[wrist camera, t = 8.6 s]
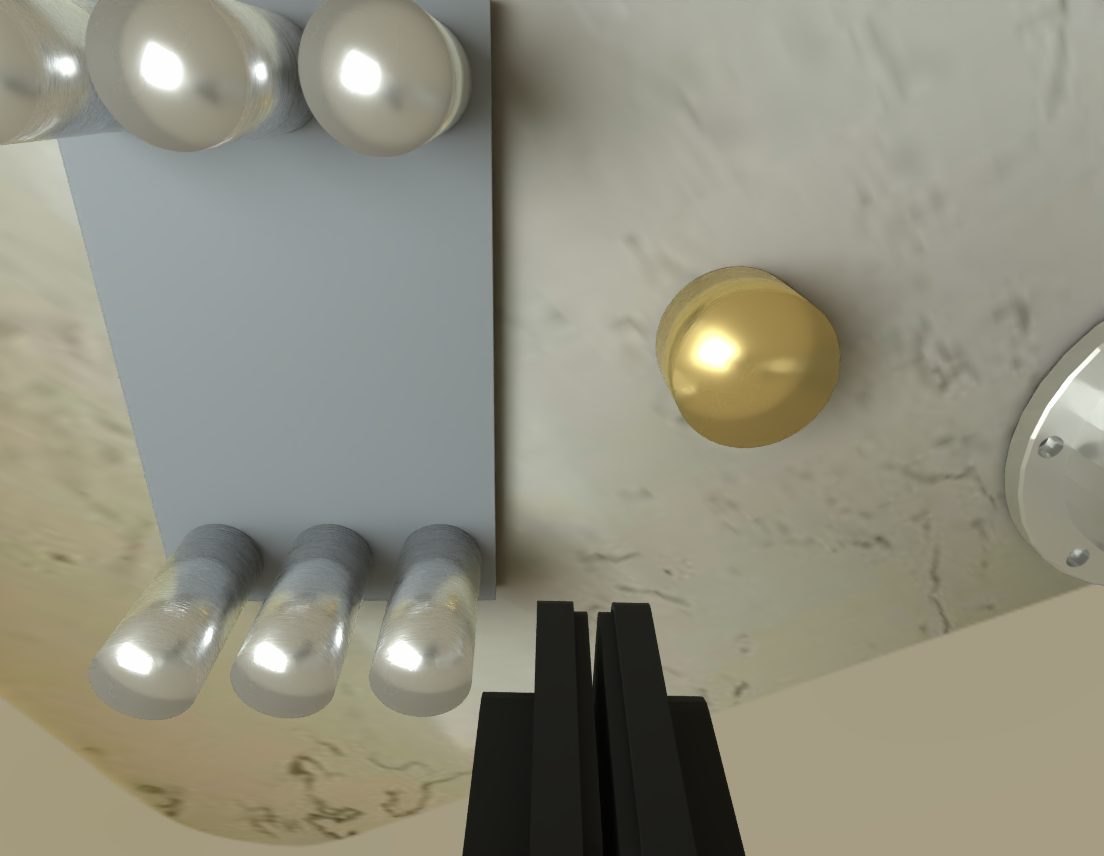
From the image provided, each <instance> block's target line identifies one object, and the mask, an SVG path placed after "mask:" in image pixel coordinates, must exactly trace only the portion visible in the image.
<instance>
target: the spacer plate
mask: <svg viewBox="0 0 1104 856" xmlns="http://www.w3.org/2000/svg"><path fill="white" fill-rule="evenodd" d="M88 1H93V2H98V1H99V0H88ZM235 1H239V2H242V3H246V4H249V5H252V6H256V7H259V8H263V9H266V10H269V11H273V12H276V13H278V14H281V15H283V16H285V17H286V18H288V19H290V20H291V21H293V22H294V23H295V24H297V25H298V26H299V27H300V28H301V29H302V30H303V31H304V29H305V27H306V25H307V23H308V21H309V19H310V18H311V16H312V15H313V13H314V12H315V10H316V9H317V8H318V7H319V6H320V5H321V4H322V3H323V2H324V1H326V0H235ZM412 1H413V2H414V3H416V4H417V5H418V6H419V7H421V8H422V9H423V10H425V11H426V12H427V13H429V14H430V15H431V16H432V17H434V18H435V19H436V20H438V21H439V22H440V23H442V24H443V25H444V26H445V27H447V28H448V29H449V30H450V31H451V32H452V33H453V34H454V35H455V36H456V37H457V39H458V40H459V41H460V43H461V44H462V46H463V48H464V49H465V52H466V54H467V56H468V59H469V62H470V66H471V71H472V91H471V96H470V100H469V103H468V105H467V108H466V110H465V112H464V113H463V115H462V117H461V118H460V119H459V120H458V122H457V123H455V124H454V125H453V126H452V127H451V128H450V129H448V130H447V131H445V132H443V133H442V134H440V135H439V136H437V137H435V138H434V139H432V140H430V141H429V142H427V143H426V144H424V145H422V146H421V147H419V148H417V149H415V150H413V151H411V152H409V153H406V154H403V155H400V156H394V157H373V156H369V155H364V154H361V153H358V152H356V151H353V150H351V149H349V148H347V147H346V146H344V145H342V144H341V143H339V142H338V141H337V140H335V139H334V138H333V137H332V136H331V135H330V134H328V133H327V132H326V130H325V129H324V128H323V127H322V126H321V125H320V124H319V122H318V121H317V119H316V118H315V117H314V116H313V118H312V119H311V120H310V121H309V122H308V123H306V124H305V125H304V126H302V127H301V128H299V129H297V130H294V131H292V132H288V133H283V134H278V135H273V136H268V137H264V138H259V139H254V140H249V141H244V142H239V143H234V144H229V145H224V146H220V147H215V148H210V149H205V150H200V151H195V152H175V151H169V150H165V149H161V148H158V147H156V146H153V145H151V144H149V143H147V142H145V141H143V140H141V139H139V138H138V137H136V136H135V135H133V134H132V133H131V132H129V131H128V130H127V131H119V132H110V133H101V134H93V135H84V136H76V137H67V138H58V139H57V141H58V145H59V148H60V152H61V156H62V160H63V164H64V168H65V171H66V175H67V179H68V183H69V187H70V191H71V194H72V198H73V202H74V206H75V210H76V214H77V217H78V221H79V225H80V229H81V233H82V237H83V240H84V244H85V248H86V252H87V256H88V260H89V263H90V267H91V271H92V275H93V279H94V283H95V286H96V290H97V294H98V298H99V302H100V306H101V309H102V313H103V317H104V321H105V325H106V329H107V332H108V336H109V340H110V344H111V348H112V352H113V355H114V359H115V363H116V367H117V371H118V375H119V378H120V382H121V386H122V390H123V394H124V398H125V401H126V405H127V409H128V413H129V417H130V421H131V424H132V428H133V432H134V436H135V440H136V444H137V447H138V451H139V455H140V459H141V463H142V467H143V470H144V474H145V478H146V482H147V486H148V490H149V493H150V497H151V501H152V505H153V509H154V513H155V516H156V520H157V524H158V528H159V532H160V536H161V539H162V543H163V547H164V551H165V555H166V559H167V560H168V558H169V557H170V556H171V554H172V553H173V551H174V550H175V549H176V547H177V546H178V545H179V543H180V542H181V541H182V539H183V538H184V537H185V536H186V534H187V533H189V532H190V531H191V530H193V529H194V528H197V527H199V526H202V525H207V524H223V525H228V526H232V527H234V528H237V529H239V530H241V531H243V532H245V533H246V534H248V535H249V536H250V537H251V538H252V539H253V540H254V541H255V542H256V543H257V544H258V546H259V547H260V549H261V551H262V553H263V557H264V569H263V572H262V574H261V576H260V578H259V580H258V582H257V584H256V585H255V587H254V589H253V591H252V593H251V595H250V597H249V599H248V601H265V599H266V597H267V595H268V593H269V591H270V589H271V587H272V585H273V583H274V581H275V579H276V577H277V575H278V573H279V571H280V569H281V567H282V565H283V563H284V561H285V559H286V557H287V555H288V553H289V551H290V549H291V547H292V545H293V543H294V541H295V539H296V538H297V536H298V535H299V534H300V533H302V532H303V531H304V530H306V529H308V528H310V527H312V526H316V525H320V524H336V525H341V526H344V527H347V528H350V529H352V530H353V531H355V532H357V533H358V534H360V535H361V536H362V537H363V538H364V539H365V540H366V541H367V543H368V544H369V546H370V548H371V550H372V553H373V557H374V563H373V568H372V571H371V575H370V578H369V581H368V584H367V588H366V591H365V594H364V597H363V600H389V596H390V592H391V588H392V584H393V580H394V576H395V572H396V569H397V565H398V561H399V557H400V553H401V549H402V546H403V544H404V542H405V540H406V539H407V538H408V537H409V536H410V534H412V533H413V532H414V531H416V530H418V529H419V528H422V527H424V526H428V525H433V524H447V525H452V526H455V527H458V528H460V529H462V530H464V531H466V532H467V533H469V534H470V535H471V536H472V537H473V538H474V539H475V540H476V542H477V543H478V545H479V547H480V550H481V555H482V562H481V574H480V586H479V599H478V600H496V523H495V416H494V308H493V200H492V92H491V0H412Z"/></svg>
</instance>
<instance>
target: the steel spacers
mask: <svg viewBox="0 0 1104 856" xmlns="http://www.w3.org/2000/svg"><path fill="white" fill-rule="evenodd" d="M471 91H472V71H471V66H470V62H469V59H468V56H467V54H466V52H465V49H464V48H463V46H462V44H461V43H460V41H459V40H458V39H457V37H456V36H455V35H454V34H453V33H452V32H451V31H450V30H449V29H448V28H447V27H445V26H444V25H443V24H442V23H440V22H439V21H438V20H436V19H435V18H434V17H432V16H431V15H430V14H429V13H427V12H426V11H425V10H423V9H422V8H421V7H419V6H418V5H417V4H416V3H414V2H413V1H412V0H326V1H324V2H323V3H322V4H321V5H320V6H319V7H318V8H317V9H316V10H315V12H314V13H313V15H312V16H311V18H310V19H309V21H308V23H307V25H306V27H305V29H304V31H303V30H302V29H301V28H300V27H299V26H298V25H297V24H295V23H294V22H293V21H291V20H290V19H288V18H286V17H285V16H283V15H281V14H278V13H276V12H273V11H269V10H266V9H263V8H259V7H256V6H252V5H249V4H246V3H242V2H239V1H235V0H99V1H98V2H93V1H88V0H0V145H7V144H15V143H24V142H33V141H41V140H50V139H58V138H67V137H76V136H84V135H93V134H101V133H110V132H119V131H127V130H128V131H129V132H131V133H132V134H133V135H135V136H136V137H138V138H139V139H141V140H143V141H145V142H147V143H149V144H151V145H153V146H156V147H158V148H161V149H165V150H169V151H175V152H195V151H200V150H205V149H210V148H215V147H220V146H224V145H229V144H234V143H239V142H244V141H249V140H254V139H259V138H264V137H268V136H273V135H278V134H283V133H288V132H292V131H294V130H297V129H299V128H301V127H302V126H304V125H305V124H306V123H308V122H309V121H310V120H311V119H312V118H313V116H314V117H315V118H316V119H317V121H318V122H319V124H320V125H321V126H322V127H323V128H324V129H325V130H326V132H327V133H328V134H330V135H331V136H332V137H333V138H334V139H335V140H337V141H338V142H339V143H341V144H342V145H344V146H346V147H347V148H349V149H351V150H353V151H356V152H358V153H361V154H364V155H369V156H373V157H394V156H400V155H403V154H406V153H409V152H411V151H413V150H415V149H417V148H419V147H421V146H422V145H424V144H426V143H427V142H429V141H430V140H432V139H434V138H435V137H437V136H439V135H440V134H442V133H443V132H445V131H447V130H448V129H450V128H451V127H452V126H453V125H454V124H455V123H457V122H458V120H459V119H460V118H461V117H462V115H463V113H464V112H465V110H466V108H467V105H468V103H469V100H470V96H471ZM481 562H482V555H481V550H480V547H479V545H478V543H477V542H476V540H475V539H474V538H473V537H472V536H471V535H470V534H469V533H467V532H466V531H464V530H462V529H460V528H458V527H455V526H452V525H447V524H433V525H428V526H424V527H422V528H419V529H418V530H416V531H414V532H413V533H412V534H410V536H409V537H408V538H407V539H406V540H405V542H404V544H403V546H402V549H401V553H400V557H399V561H398V565H397V569H396V572H395V576H394V580H393V584H392V588H391V592H390V596H389V600H388V603H387V607H386V611H385V615H384V619H383V623H382V627H381V631H380V635H379V638H378V642H377V646H376V650H375V654H374V658H373V662H372V666H371V670H370V675H369V680H370V686H371V688H372V691H373V692H374V694H375V696H376V697H377V698H378V699H379V700H380V701H381V702H382V703H383V704H384V705H386V706H387V707H389V708H390V709H392V710H394V711H397V712H399V713H402V714H405V715H410V716H418V717H427V716H435V715H439V714H443V713H446V712H448V711H450V710H452V709H454V708H455V707H457V706H458V705H459V704H461V703H462V702H463V701H464V699H465V698H466V697H467V695H468V693H469V691H470V688H471V683H472V671H473V659H474V647H475V635H476V623H477V611H478V599H479V586H480V574H481ZM373 563H374V557H373V553H372V550H371V548H370V546H369V544H368V543H367V541H366V540H365V539H364V538H363V537H362V536H361V535H360V534H358V533H357V532H355V531H353V530H352V529H350V528H347V527H344V526H341V525H336V524H320V525H316V526H312V527H310V528H308V529H306V530H304V531H303V532H302V533H300V534H299V535H298V536H297V538H296V539H295V541H294V543H293V545H292V547H291V549H290V551H289V553H288V555H287V557H286V559H285V561H284V563H283V565H282V567H281V569H280V571H279V573H278V575H277V577H276V579H275V581H274V583H273V585H272V587H271V589H270V591H269V593H268V595H267V597H266V599H265V601H264V603H263V605H262V607H261V609H260V611H259V613H258V615H257V617H256V619H255V621H254V623H253V625H252V627H251V629H250V631H249V633H248V635H247V637H246V639H245V641H244V643H243V645H242V647H241V649H240V651H239V653H238V655H237V657H236V659H235V661H234V663H233V666H232V668H231V674H230V678H231V683H232V686H233V689H234V691H235V692H236V694H237V695H238V697H239V698H240V699H241V700H242V701H243V702H244V703H246V704H247V705H248V706H250V707H251V708H253V709H255V710H256V711H258V712H261V713H263V714H266V715H269V716H273V717H279V718H300V717H305V716H309V715H311V714H314V713H316V712H318V711H320V710H321V709H323V708H324V707H325V706H326V705H327V704H328V703H329V702H330V700H331V699H332V697H333V695H334V692H335V689H336V685H337V682H338V679H339V676H340V672H341V669H342V666H343V663H344V659H345V656H346V653H347V650H348V646H349V643H350V640H351V637H352V633H353V630H354V627H355V624H356V620H357V617H358V614H359V610H360V607H361V604H362V601H363V597H364V594H365V591H366V588H367V584H368V581H369V578H370V575H371V571H372V568H373ZM263 569H264V557H263V553H262V551H261V549H260V547H259V546H258V544H257V543H256V542H255V541H254V540H253V539H252V538H251V537H250V536H249V535H248V534H246V533H245V532H243V531H241V530H239V529H237V528H234V527H232V526H228V525H223V524H207V525H202V526H199V527H197V528H194V529H193V530H191V531H190V532H189V533H187V534H186V536H185V537H184V538H183V539H182V541H181V542H180V543H179V545H178V546H177V547H176V549H175V550H174V551H173V553H172V554H171V556H170V557H169V558H168V560H167V561H166V562H165V564H164V565H163V566H162V568H161V569H160V570H159V572H158V573H157V574H156V576H155V577H154V578H153V580H152V581H151V582H150V584H149V585H148V586H147V588H146V589H145V590H144V592H143V593H142V594H141V596H140V597H139V598H138V600H137V601H136V603H135V604H134V605H133V607H132V608H131V609H130V611H129V612H128V613H127V615H126V616H125V617H124V619H123V620H122V621H121V623H120V624H119V625H118V627H117V628H116V629H115V631H114V632H113V633H112V635H111V636H110V637H109V639H108V640H107V641H106V643H105V644H104V645H103V647H102V648H101V650H100V651H99V652H98V654H97V655H96V656H95V658H94V659H93V660H92V662H91V664H90V667H89V673H88V675H89V681H90V684H91V687H92V689H93V690H94V692H95V693H96V695H97V696H98V697H99V698H100V699H101V700H102V701H103V702H104V703H105V704H107V705H108V706H109V707H111V708H113V709H114V710H116V711H118V712H120V713H122V714H125V715H128V716H131V717H134V718H139V719H146V720H162V719H168V718H172V717H175V716H177V715H180V714H181V713H183V712H185V711H186V710H187V709H188V708H189V707H190V706H191V705H192V704H193V702H194V700H195V699H196V697H197V695H198V693H199V691H200V689H201V687H202V685H203V684H204V682H205V680H206V678H207V676H208V674H209V672H210V670H211V668H212V667H213V665H214V663H215V661H216V659H217V657H218V655H219V653H220V651H221V650H222V648H223V646H224V644H225V642H226V640H227V638H228V636H229V635H230V633H231V631H232V629H233V627H234V625H235V623H236V621H237V619H238V618H239V616H240V614H241V612H242V610H243V608H244V606H245V604H246V602H247V601H248V599H249V597H250V595H251V593H252V591H253V589H254V587H255V585H256V584H257V582H258V580H259V578H260V576H261V574H262V572H263Z"/></svg>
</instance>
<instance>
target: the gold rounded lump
mask: <svg viewBox="0 0 1104 856" xmlns="http://www.w3.org/2000/svg"><path fill="white" fill-rule="evenodd" d="M656 356H657V361H658V365H659V368H660V371H661V373H662V375H663V377H664V379H665V381H666V383H667V385H668V387H669V389H670V391H671V393H672V395H673V397H674V399H675V401H676V404H677V406H678V408H679V410H680V412H681V414H682V415H683V417H684V418H685V420H686V421H687V423H688V424H689V425H690V426H691V427H692V428H693V429H694V430H695V431H697V432H698V433H699V434H700V435H702V436H703V437H705V438H707V439H709V440H710V441H713V442H715V443H718V444H721V445H725V446H729V447H736V448H753V447H761V446H765V445H770V444H773V443H776V442H778V441H781V440H783V439H785V438H787V437H790V436H791V435H793V434H795V433H796V432H798V431H799V430H801V429H802V428H803V427H805V426H806V425H807V424H808V423H810V422H811V421H812V420H813V419H814V418H815V417H816V416H817V415H818V413H819V412H820V411H821V410H822V409H823V407H824V406H825V404H826V403H827V401H828V400H829V398H830V396H831V394H832V392H833V390H834V387H835V385H836V382H837V378H838V374H839V369H840V348H839V343H838V339H837V336H836V334H835V331H834V329H833V327H832V325H831V324H830V322H829V321H828V319H827V318H826V317H825V315H824V314H823V313H822V312H821V311H820V310H819V309H817V308H816V307H815V306H814V305H813V304H811V303H810V302H809V301H807V300H806V299H805V298H803V297H802V296H801V295H799V294H798V293H797V292H795V291H794V290H793V289H791V288H790V287H789V286H787V285H786V284H785V283H783V282H782V281H781V280H779V279H778V278H776V277H775V276H773V275H771V274H769V273H767V272H765V271H762V270H759V269H755V268H749V267H729V268H723V269H719V270H715V271H712V272H710V273H707V274H705V275H703V276H701V277H699V278H697V279H695V280H694V281H692V282H691V283H689V284H688V285H687V286H686V287H685V288H683V289H682V290H681V291H680V292H679V293H678V294H677V295H676V296H675V298H674V299H673V300H672V301H671V303H670V304H669V306H668V307H667V309H666V311H665V312H664V314H663V316H662V319H661V321H660V324H659V327H658V332H657V337H656Z"/></svg>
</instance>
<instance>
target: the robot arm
mask: <svg viewBox="0 0 1104 856" xmlns="http://www.w3.org/2000/svg"><path fill="white" fill-rule="evenodd" d="M1005 498H1006V501H1007V505H1008V508H1009V512H1010V515H1011V519H1012V521H1013V523H1014V524H1015V526H1016V528H1017V529H1018V531H1019V532H1020V534H1021V536H1022V537H1023V539H1024V540H1025V541H1026V542H1027V543H1028V544H1029V545H1030V546H1031V547H1032V548H1033V549H1034V550H1035V551H1036V552H1037V553H1038V554H1039V555H1040V556H1042V557H1043V558H1044V559H1045V560H1046V561H1047V562H1048V563H1050V564H1051V565H1052V566H1054V567H1055V568H1056V569H1058V570H1059V571H1061V572H1062V573H1064V574H1066V575H1069V576H1071V577H1074V578H1077V579H1079V580H1082V581H1084V582H1087V583H1091V584H1097V585H1102V586H1104V321H1103V322H1101V323H1100V324H1098V325H1097V326H1095V327H1094V328H1093V329H1092V330H1091V331H1090V332H1089V333H1088V334H1086V335H1085V336H1084V337H1083V338H1082V339H1081V340H1080V341H1079V342H1078V343H1077V344H1075V345H1074V346H1073V347H1072V348H1071V349H1070V350H1069V351H1068V352H1067V353H1065V355H1064V356H1063V357H1062V358H1061V359H1060V361H1059V362H1058V363H1057V364H1056V365H1055V367H1054V368H1053V369H1052V370H1051V371H1050V373H1049V374H1048V375H1047V376H1046V377H1045V378H1044V380H1043V381H1042V382H1041V383H1040V385H1039V387H1038V388H1037V390H1036V392H1035V393H1034V395H1033V396H1032V398H1031V400H1030V401H1029V403H1028V405H1027V406H1026V408H1025V409H1024V411H1023V413H1022V415H1021V417H1020V420H1019V422H1018V425H1017V427H1016V430H1015V432H1014V435H1013V437H1012V440H1011V442H1010V446H1009V452H1008V457H1007V462H1006V467H1005ZM462 856H745V852H744V848H743V844H742V840H741V836H740V832H739V828H738V824H737V820H736V816H735V812H734V808H733V804H732V800H731V796H730V792H729V789H728V784H727V781H726V777H725V772H724V768H723V764H722V761H721V756H720V752H719V748H718V745H717V740H716V737H715V733H714V729H713V725H712V721H711V717H710V713H709V709H708V706H707V703H706V701H705V699H704V698H703V697H700V696H667V692H666V687H665V682H664V676H663V671H662V666H661V660H660V655H659V650H658V644H657V639H656V634H655V628H654V623H653V618H652V612H651V608H650V605H649V603H616V602H613V603H612V606H611V612H598V617H597V631H596V645H595V659H594V673H593V687H592V674H591V658H590V643H589V628H588V614H587V612H575V611H574V607H573V602H572V601H537V628H536V660H535V692H534V693H515V692H483V693H482V697H481V704H480V712H479V721H478V729H477V737H476V746H475V754H474V763H473V771H472V780H471V788H470V796H469V805H468V813H467V822H466V830H465V839H464V847H463V855H462Z"/></svg>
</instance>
